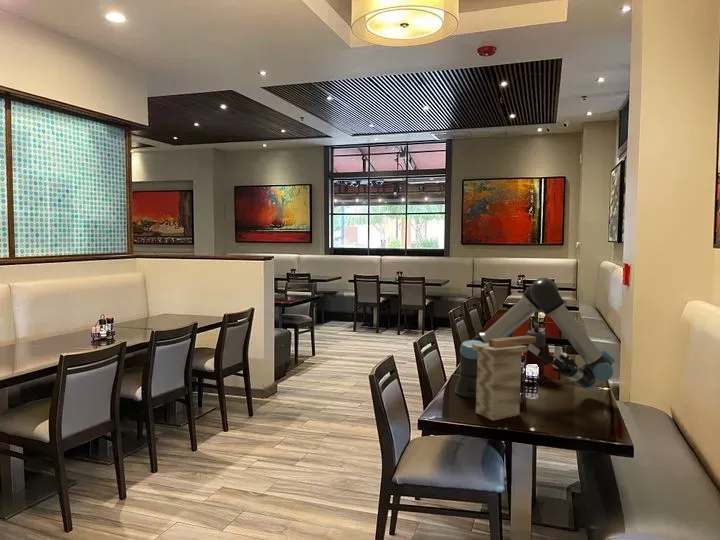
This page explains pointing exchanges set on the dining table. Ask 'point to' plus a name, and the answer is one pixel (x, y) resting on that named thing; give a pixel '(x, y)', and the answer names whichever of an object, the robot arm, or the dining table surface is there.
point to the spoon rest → (564, 355)
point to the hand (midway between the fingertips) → (541, 349)
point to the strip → (512, 341)
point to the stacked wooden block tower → (498, 380)
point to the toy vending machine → (540, 345)
